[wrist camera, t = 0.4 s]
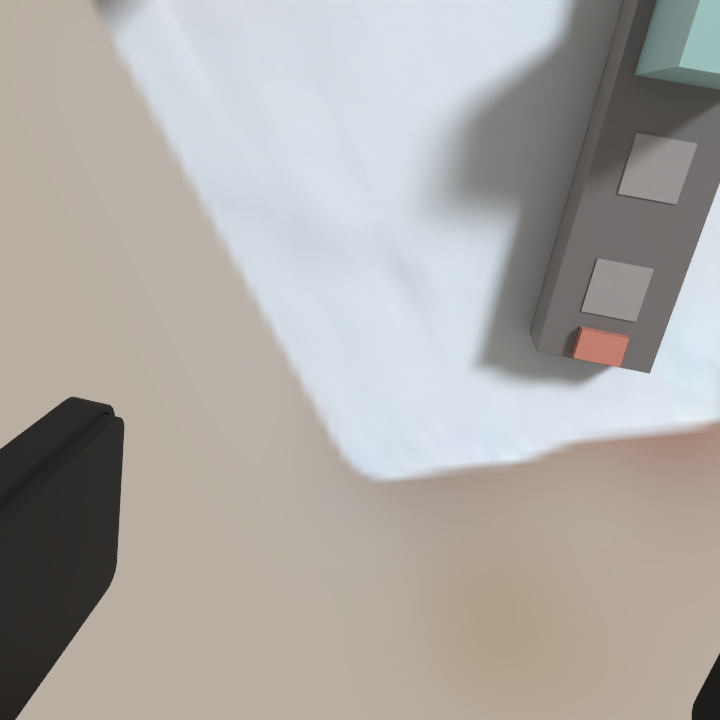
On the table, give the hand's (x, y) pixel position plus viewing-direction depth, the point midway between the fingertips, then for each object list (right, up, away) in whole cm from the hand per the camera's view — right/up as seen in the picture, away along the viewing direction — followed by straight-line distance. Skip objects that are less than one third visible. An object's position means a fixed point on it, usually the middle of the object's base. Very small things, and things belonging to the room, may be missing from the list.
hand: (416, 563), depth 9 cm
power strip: (+14, +18, +22) cm, 32 cm away
